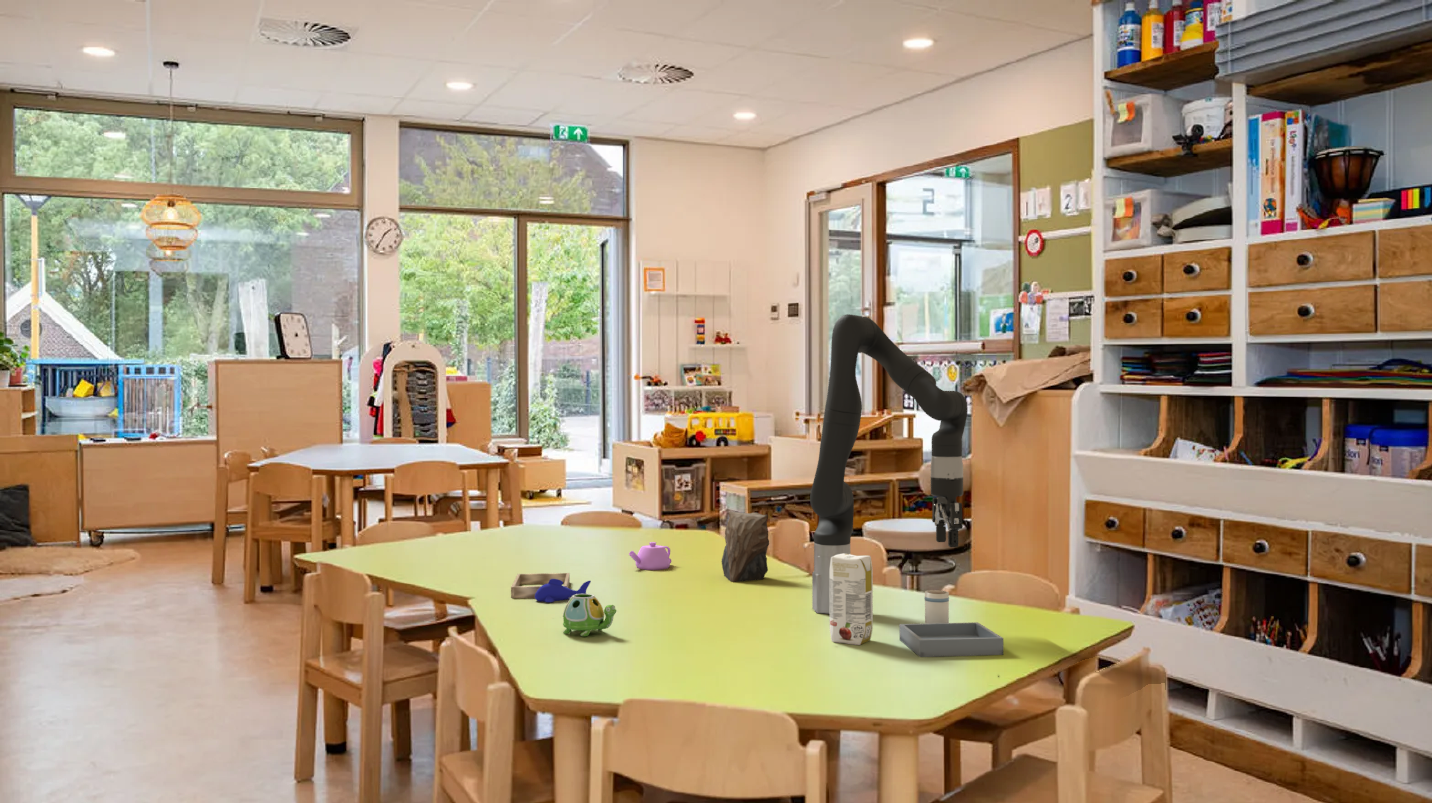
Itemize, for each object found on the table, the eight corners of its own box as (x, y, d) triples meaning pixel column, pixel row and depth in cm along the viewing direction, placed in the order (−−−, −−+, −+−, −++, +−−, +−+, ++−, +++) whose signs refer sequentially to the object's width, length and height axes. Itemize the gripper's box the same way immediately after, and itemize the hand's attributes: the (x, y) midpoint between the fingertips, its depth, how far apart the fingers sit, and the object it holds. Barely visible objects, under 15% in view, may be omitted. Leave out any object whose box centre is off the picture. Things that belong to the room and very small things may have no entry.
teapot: (679, 572, 338) (679, 542, 338) (637, 577, 330) (637, 546, 330) (662, 568, 347) (662, 538, 347) (620, 572, 338) (620, 542, 338)
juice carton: (861, 646, 239) (861, 559, 238) (826, 642, 243) (826, 556, 243) (875, 640, 245) (875, 555, 245) (840, 635, 250) (840, 552, 249)
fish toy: (537, 608, 282) (537, 582, 282) (531, 603, 290) (531, 577, 290) (594, 604, 288) (594, 578, 288) (587, 599, 295) (587, 574, 295)
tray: (919, 657, 229) (919, 640, 229) (899, 639, 245) (899, 624, 245) (1003, 654, 231) (1003, 638, 231) (977, 637, 247) (977, 622, 247)
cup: (928, 634, 251) (928, 594, 251) (921, 628, 257) (921, 590, 257) (952, 633, 252) (952, 593, 252) (944, 628, 257) (944, 589, 257)
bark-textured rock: (720, 578, 328) (720, 511, 328) (761, 576, 330) (761, 510, 330) (730, 585, 315) (729, 515, 315) (772, 583, 318) (772, 514, 318)
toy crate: (511, 602, 290) (511, 587, 290) (517, 588, 312) (517, 573, 312) (566, 601, 292) (566, 586, 292) (569, 587, 313) (569, 573, 313)
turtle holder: (606, 639, 247) (606, 601, 247) (555, 634, 252) (555, 597, 252) (623, 631, 255) (623, 594, 255) (574, 627, 260) (574, 590, 260)
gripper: (921, 473, 265) (922, 541, 265) (941, 478, 250) (941, 549, 251) (951, 473, 266) (952, 540, 266) (973, 477, 251) (973, 548, 251)
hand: (947, 544), depth 258 cm, fingers open, 8 cm apart
